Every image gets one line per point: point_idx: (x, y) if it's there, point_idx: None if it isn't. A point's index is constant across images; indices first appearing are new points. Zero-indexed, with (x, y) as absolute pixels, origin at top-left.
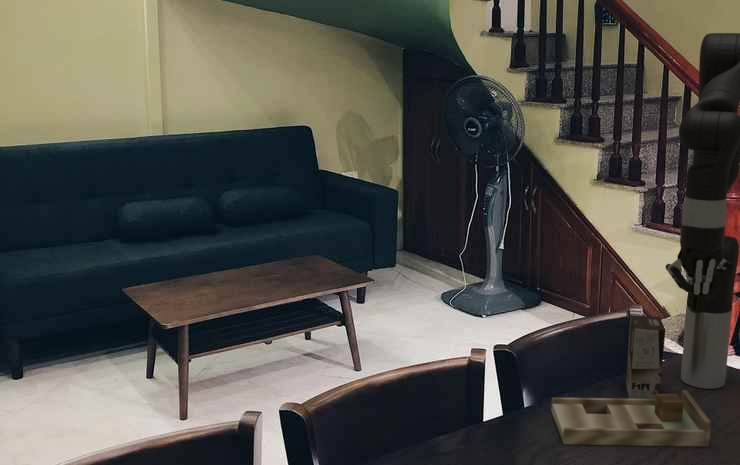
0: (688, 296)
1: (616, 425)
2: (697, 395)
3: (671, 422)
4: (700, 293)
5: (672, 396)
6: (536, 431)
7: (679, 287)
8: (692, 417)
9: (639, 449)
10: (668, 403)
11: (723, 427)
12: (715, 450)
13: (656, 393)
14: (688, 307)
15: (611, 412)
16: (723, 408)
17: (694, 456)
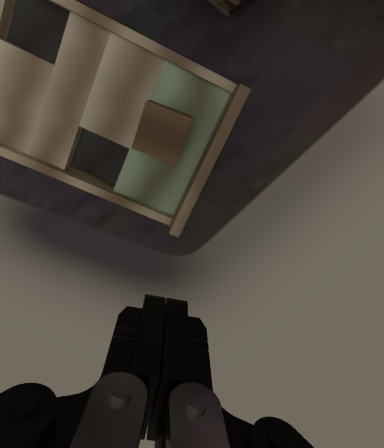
0: (107, 358)
1: (35, 119)
2: (339, 20)
3: None
4: (155, 432)
5: (173, 129)
6: None
7: (8, 392)
8: (199, 161)
9: (56, 182)
10: (143, 152)
11: (259, 172)
12: None
13: (225, 7)
14: (123, 313)
15: (58, 57)
16: (330, 104)
17: (132, 235)
